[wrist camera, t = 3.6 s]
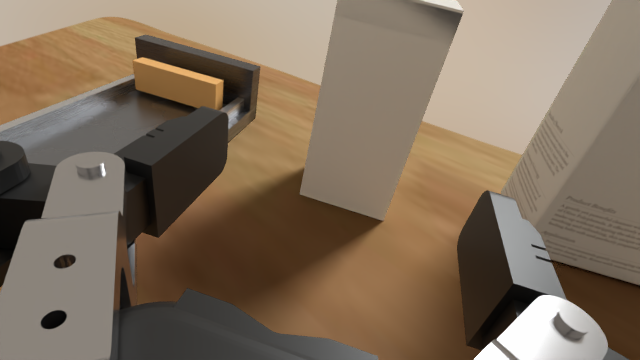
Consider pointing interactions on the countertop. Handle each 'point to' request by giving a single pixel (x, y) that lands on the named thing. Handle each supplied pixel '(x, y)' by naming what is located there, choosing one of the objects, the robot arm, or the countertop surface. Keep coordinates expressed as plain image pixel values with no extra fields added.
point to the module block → (375, 98)
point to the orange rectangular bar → (178, 84)
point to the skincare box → (590, 156)
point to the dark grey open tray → (131, 107)
